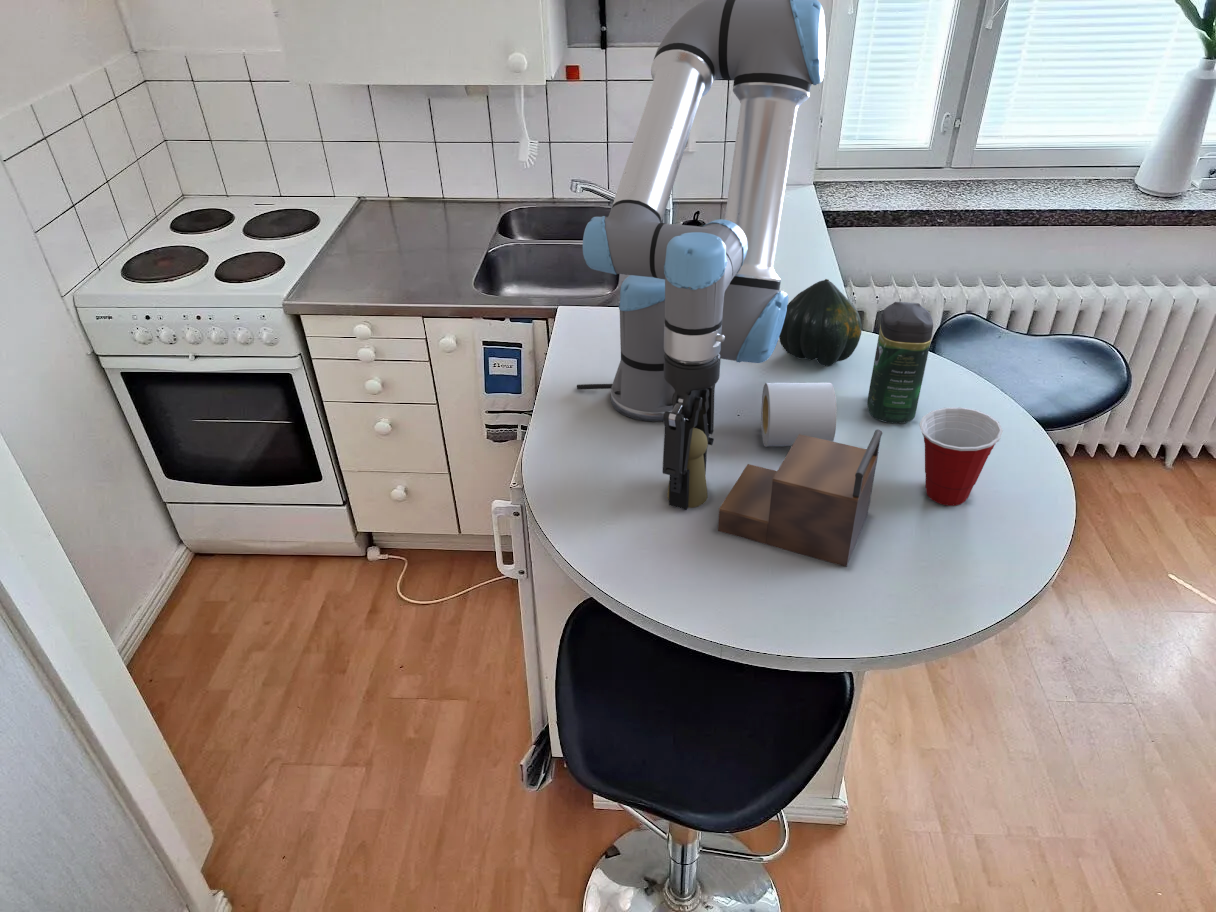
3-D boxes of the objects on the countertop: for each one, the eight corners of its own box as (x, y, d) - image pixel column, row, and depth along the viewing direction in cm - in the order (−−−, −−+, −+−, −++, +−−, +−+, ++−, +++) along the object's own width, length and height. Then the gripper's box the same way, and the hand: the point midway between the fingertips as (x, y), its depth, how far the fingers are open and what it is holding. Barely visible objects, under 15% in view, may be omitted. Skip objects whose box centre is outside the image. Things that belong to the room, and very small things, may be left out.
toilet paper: (766, 458, 136) (772, 403, 131) (759, 425, 144) (764, 371, 139) (831, 458, 136) (839, 402, 130) (820, 425, 144) (827, 371, 139)
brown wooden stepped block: (717, 531, 121) (723, 442, 113) (745, 485, 130) (752, 400, 122) (847, 567, 114) (862, 475, 106) (867, 516, 123) (883, 428, 115)
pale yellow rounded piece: (685, 479, 132) (687, 416, 126) (716, 495, 128) (720, 432, 122) (658, 495, 128) (659, 432, 122) (689, 513, 125) (691, 449, 119)
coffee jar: (917, 427, 143) (939, 323, 132) (868, 423, 144) (885, 320, 134) (912, 398, 151) (932, 298, 140) (865, 395, 152) (881, 296, 142)
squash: (808, 358, 152) (855, 284, 151) (751, 331, 163) (795, 262, 162) (846, 389, 162) (890, 319, 161) (790, 362, 173) (831, 296, 171)
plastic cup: (895, 476, 131) (908, 407, 125) (964, 471, 132) (981, 402, 125) (922, 519, 122) (938, 448, 116) (997, 514, 123) (1017, 443, 116)
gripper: (691, 390, 107) (686, 537, 120) (743, 329, 121) (733, 466, 134) (636, 378, 110) (637, 523, 123) (692, 320, 124) (688, 455, 137)
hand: (687, 493), depth 128 cm, fingers closed on pale yellow rounded piece, 6 cm apart
